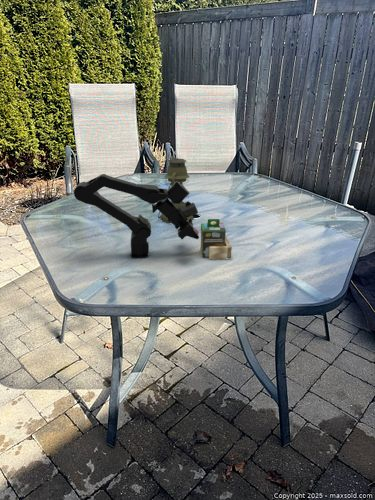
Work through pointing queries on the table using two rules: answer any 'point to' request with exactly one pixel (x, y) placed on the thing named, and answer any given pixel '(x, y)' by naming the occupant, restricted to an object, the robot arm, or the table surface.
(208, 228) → the chalk box
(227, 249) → the wooden square frame
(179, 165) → the lantern
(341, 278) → the table surface
